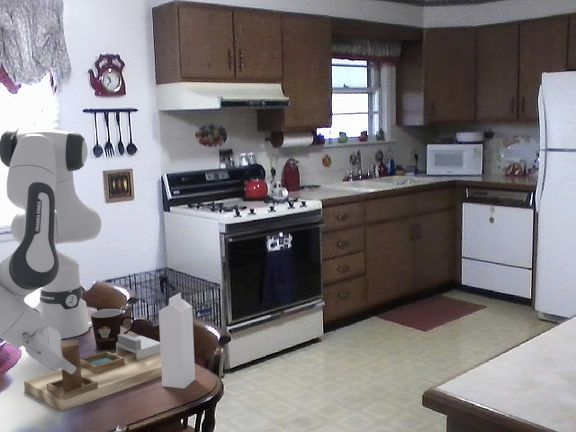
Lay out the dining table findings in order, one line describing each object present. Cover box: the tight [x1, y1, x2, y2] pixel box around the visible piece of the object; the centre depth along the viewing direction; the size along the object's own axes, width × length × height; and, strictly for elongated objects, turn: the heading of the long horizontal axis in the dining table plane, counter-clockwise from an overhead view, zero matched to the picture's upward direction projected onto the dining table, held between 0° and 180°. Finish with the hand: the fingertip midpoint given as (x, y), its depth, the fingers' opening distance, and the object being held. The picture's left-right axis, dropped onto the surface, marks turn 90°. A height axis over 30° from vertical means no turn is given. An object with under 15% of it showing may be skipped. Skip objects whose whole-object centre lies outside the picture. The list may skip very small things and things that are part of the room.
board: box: [23, 350, 162, 413], centre depth 157 cm, size 18×33×4 cm, turn 138°
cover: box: [115, 332, 161, 360], centre depth 169 cm, size 10×8×5 cm
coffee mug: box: [89, 308, 136, 352], centre depth 181 cm, size 12×9×10 cm
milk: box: [158, 292, 196, 390], centre depth 153 cm, size 6×6×22 cm
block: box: [61, 339, 82, 392], centre depth 145 cm, size 4×4×11 cm
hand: (73, 363), depth 145 cm, fingers open, 8 cm apart
